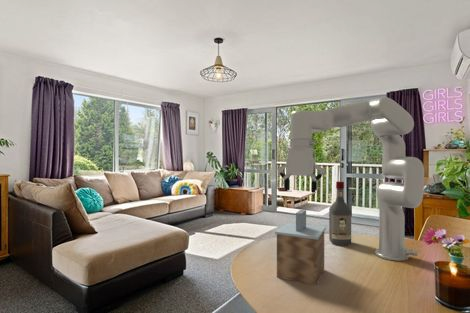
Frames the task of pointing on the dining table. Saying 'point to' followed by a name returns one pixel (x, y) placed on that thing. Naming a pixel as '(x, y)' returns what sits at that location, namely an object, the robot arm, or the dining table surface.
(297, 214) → the lid
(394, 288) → the dining table surface
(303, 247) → the crate
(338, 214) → the liquor
